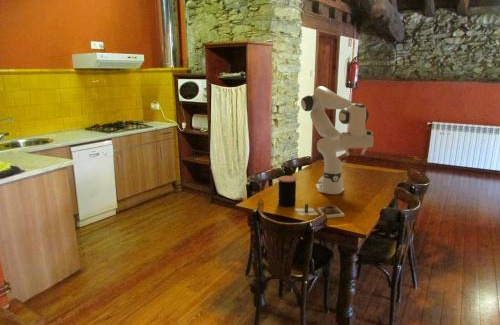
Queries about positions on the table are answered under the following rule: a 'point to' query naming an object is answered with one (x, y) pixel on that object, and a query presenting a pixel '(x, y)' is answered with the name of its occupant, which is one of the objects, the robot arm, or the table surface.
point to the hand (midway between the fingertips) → (355, 154)
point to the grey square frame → (331, 214)
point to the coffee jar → (287, 191)
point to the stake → (306, 211)
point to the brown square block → (330, 209)
